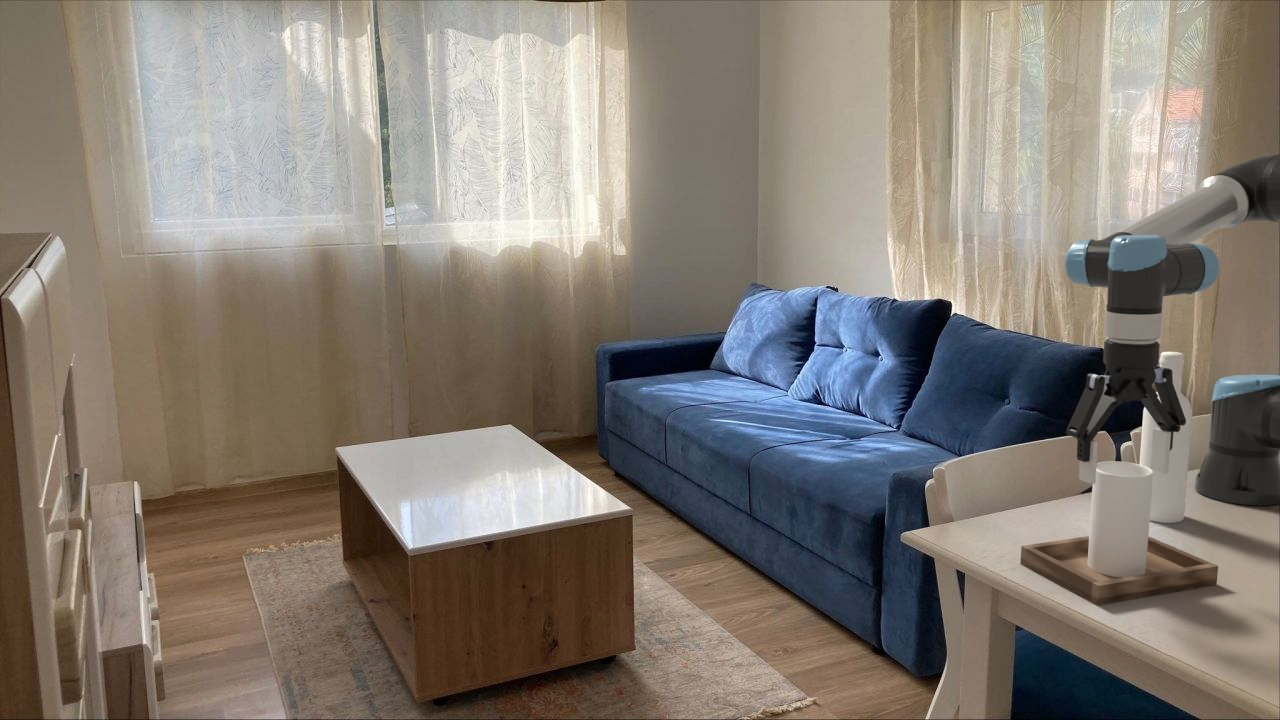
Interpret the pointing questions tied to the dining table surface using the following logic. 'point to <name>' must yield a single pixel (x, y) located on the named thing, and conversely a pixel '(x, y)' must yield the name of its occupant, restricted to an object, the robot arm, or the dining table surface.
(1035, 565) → the tray
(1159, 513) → the bottle
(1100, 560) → the cup
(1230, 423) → the robot arm
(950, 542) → the dining table surface
